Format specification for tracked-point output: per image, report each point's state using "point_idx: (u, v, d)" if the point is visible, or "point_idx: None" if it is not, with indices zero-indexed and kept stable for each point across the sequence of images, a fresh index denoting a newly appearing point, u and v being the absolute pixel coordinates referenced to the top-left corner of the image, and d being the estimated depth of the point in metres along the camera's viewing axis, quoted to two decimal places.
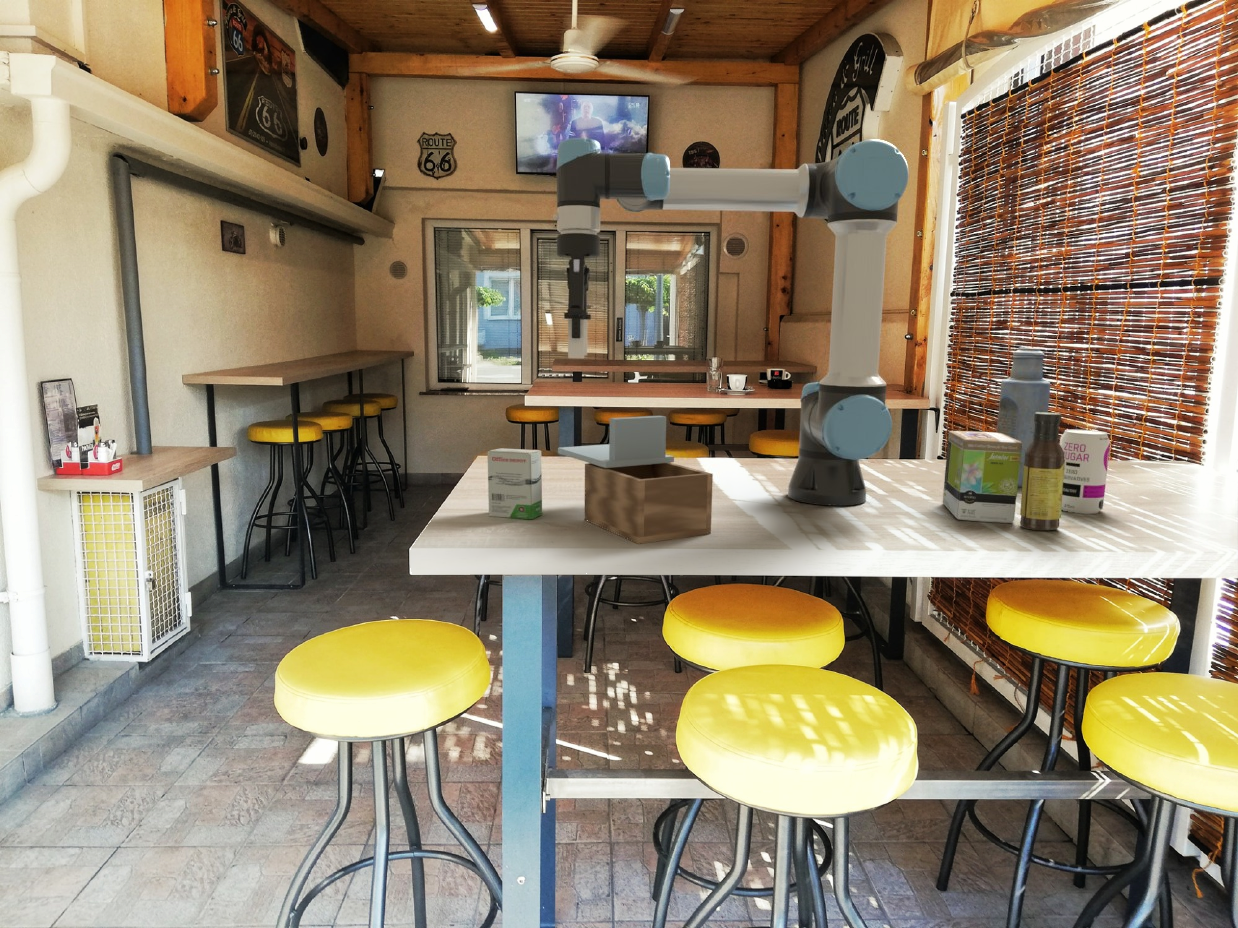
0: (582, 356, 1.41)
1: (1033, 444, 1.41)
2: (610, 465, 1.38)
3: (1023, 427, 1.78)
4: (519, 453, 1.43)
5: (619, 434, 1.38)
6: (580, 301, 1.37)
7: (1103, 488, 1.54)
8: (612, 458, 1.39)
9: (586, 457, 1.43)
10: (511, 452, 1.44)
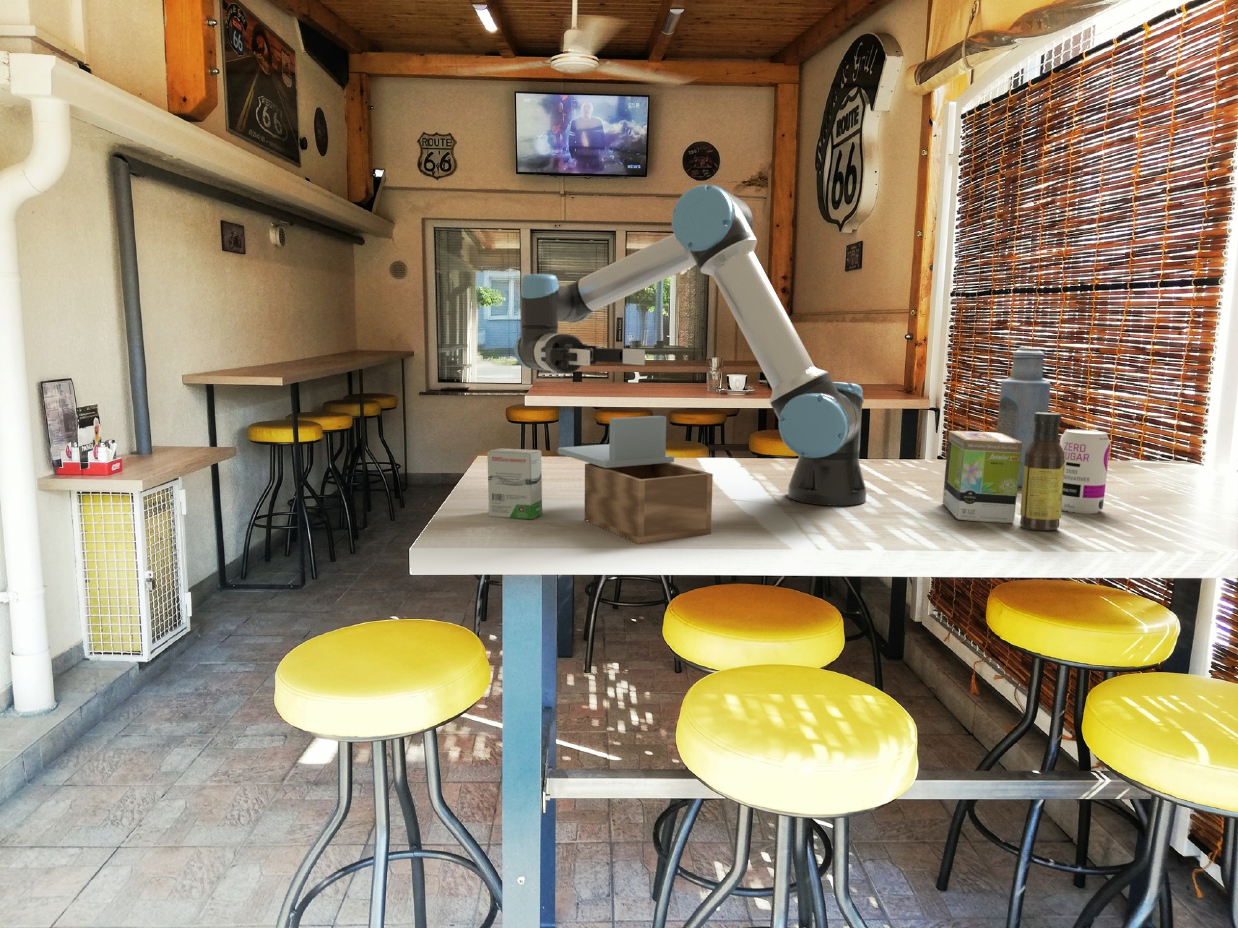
0: (585, 351, 1.42)
1: (1033, 444, 1.41)
2: (610, 465, 1.38)
3: (1023, 427, 1.78)
4: (519, 453, 1.43)
5: (619, 434, 1.38)
6: (549, 351, 1.49)
7: (1103, 488, 1.54)
8: (612, 458, 1.39)
9: (586, 457, 1.43)
10: (511, 452, 1.44)
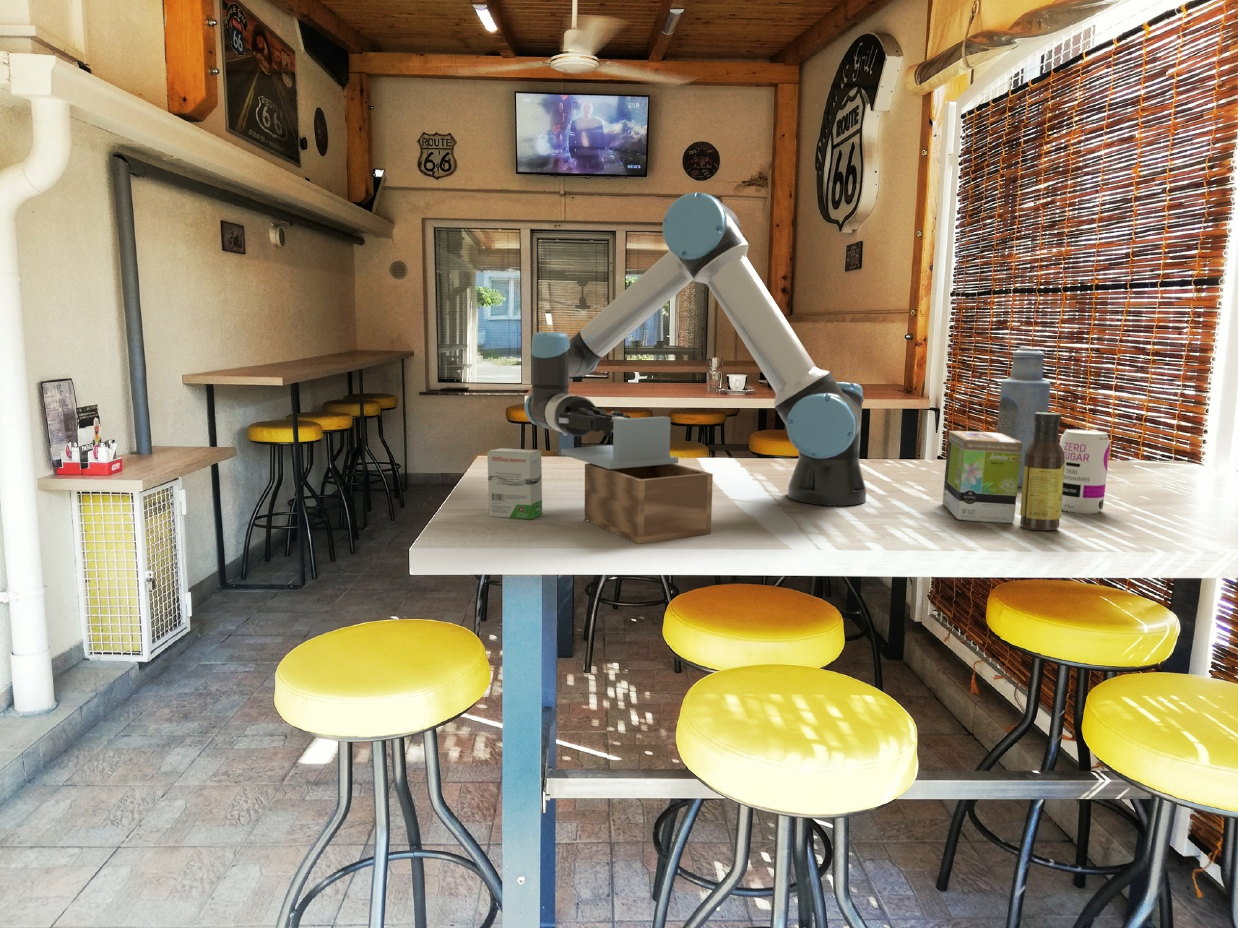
0: None
1: (1033, 444, 1.41)
2: (614, 466, 1.37)
3: (1023, 427, 1.78)
4: (519, 453, 1.43)
5: (623, 434, 1.37)
6: (588, 419, 1.46)
7: (1103, 488, 1.54)
8: (616, 459, 1.38)
9: (590, 458, 1.42)
10: (511, 452, 1.44)
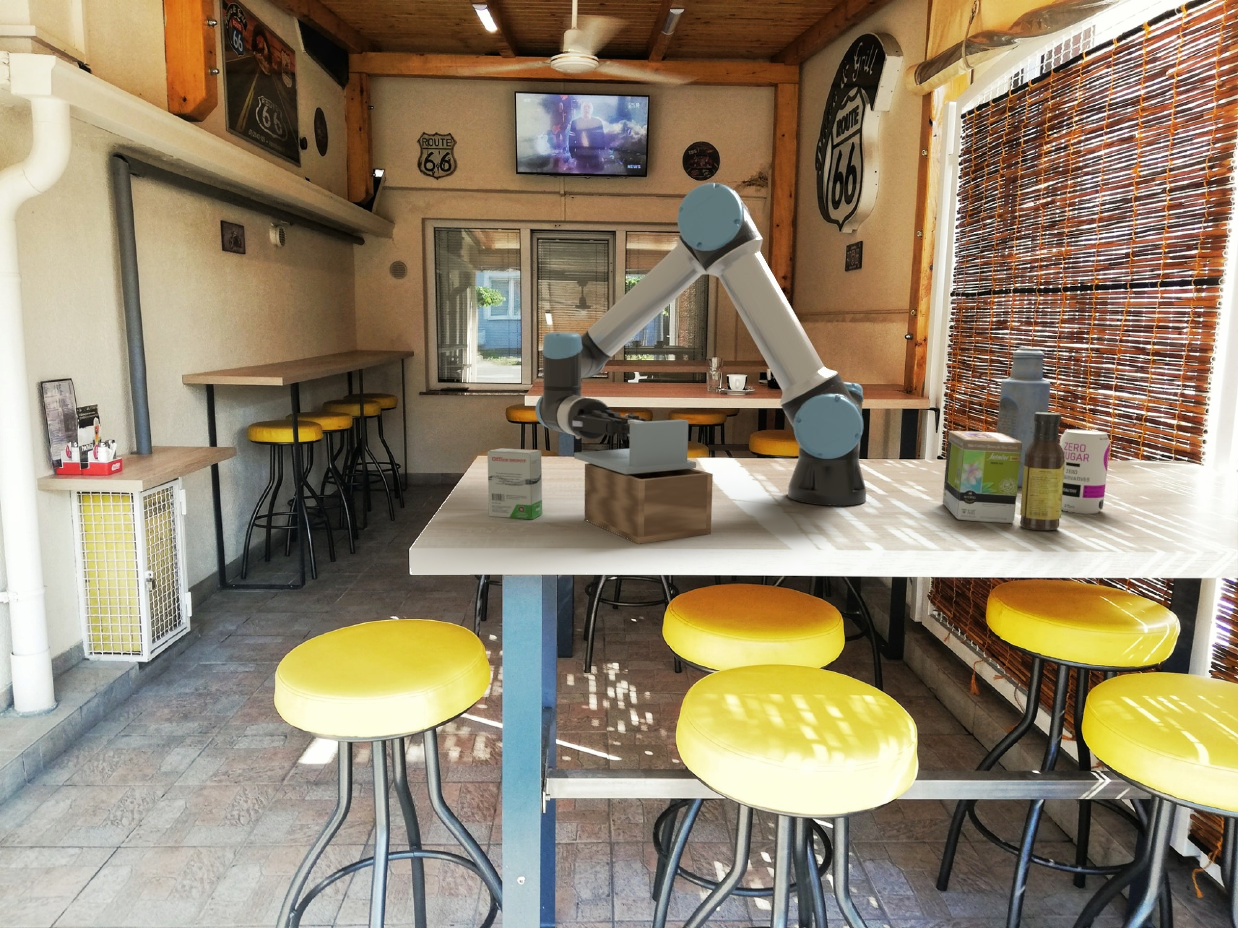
0: None
1: (1033, 444, 1.41)
2: (630, 471, 1.32)
3: (1023, 427, 1.78)
4: (519, 453, 1.43)
5: (640, 438, 1.32)
6: (603, 422, 1.41)
7: (1103, 488, 1.54)
8: (632, 464, 1.33)
9: (605, 463, 1.37)
10: (511, 452, 1.44)
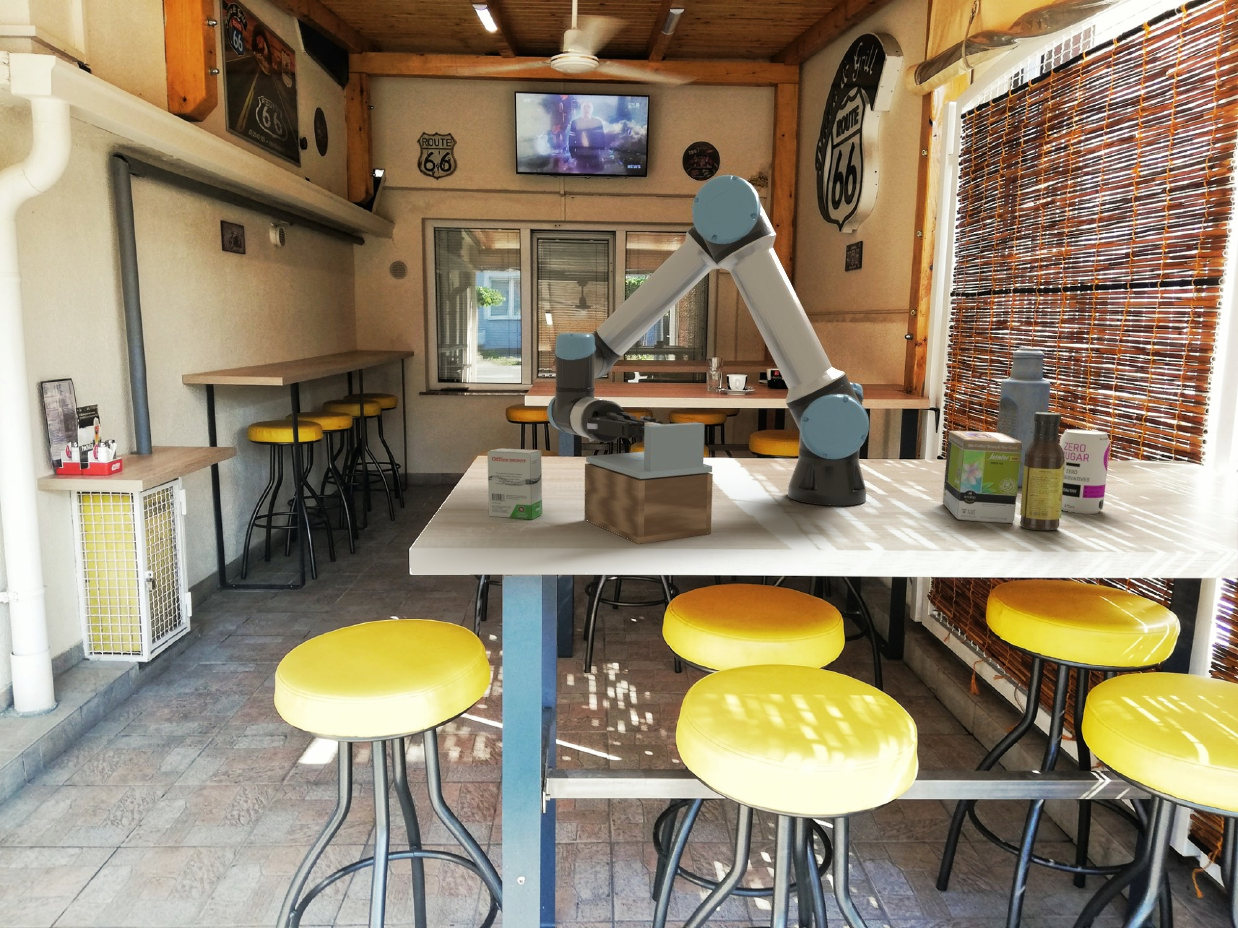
0: None
1: (1033, 444, 1.41)
2: (645, 476, 1.28)
3: (1023, 427, 1.78)
4: (519, 453, 1.43)
5: (655, 442, 1.28)
6: (619, 425, 1.38)
7: (1103, 488, 1.54)
8: (647, 468, 1.29)
9: (618, 467, 1.34)
10: (511, 452, 1.44)
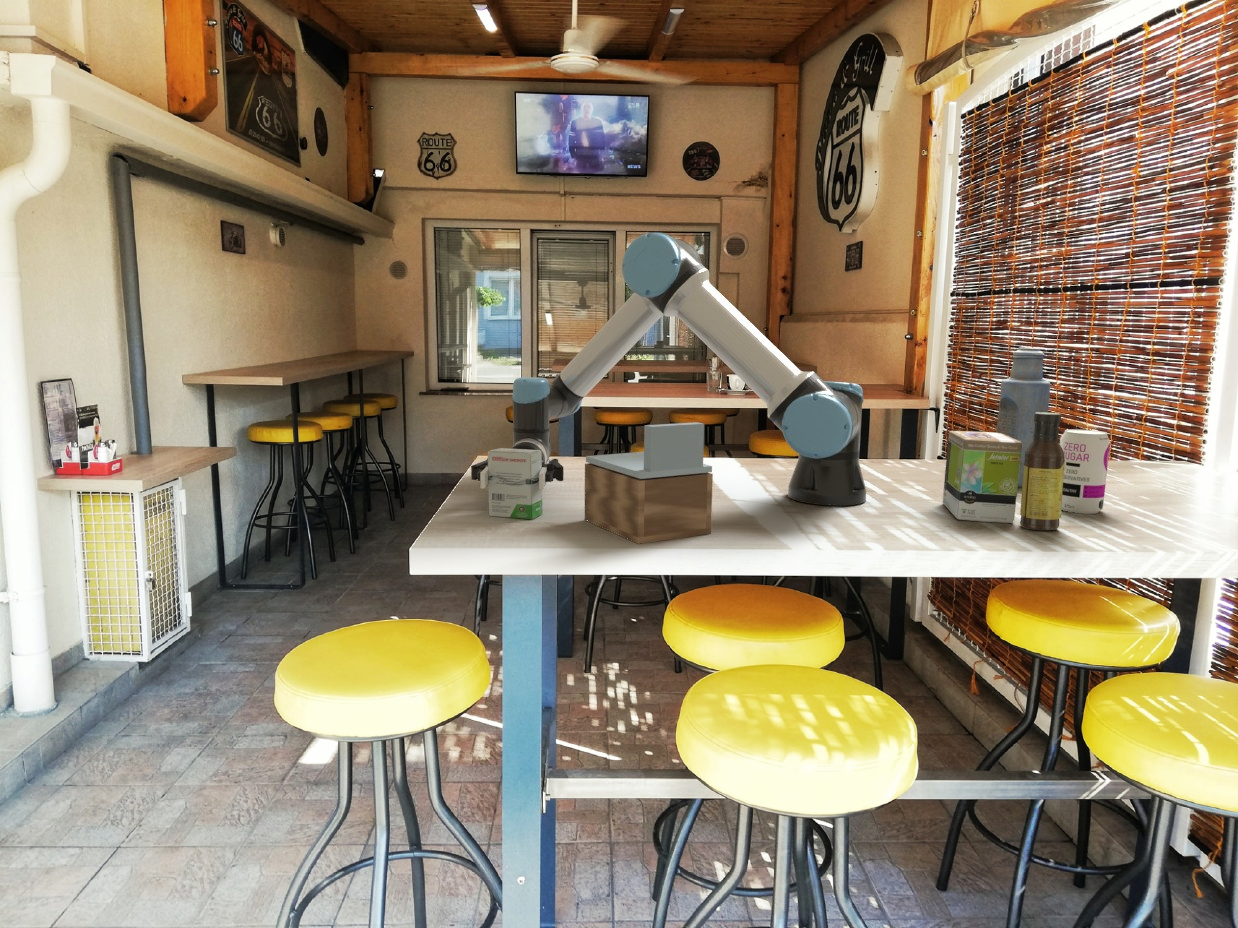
0: None
1: (1033, 444, 1.41)
2: (645, 476, 1.28)
3: (1023, 427, 1.78)
4: (519, 453, 1.43)
5: (655, 442, 1.28)
6: None
7: (1103, 488, 1.54)
8: (647, 468, 1.29)
9: (618, 467, 1.34)
10: (511, 452, 1.44)
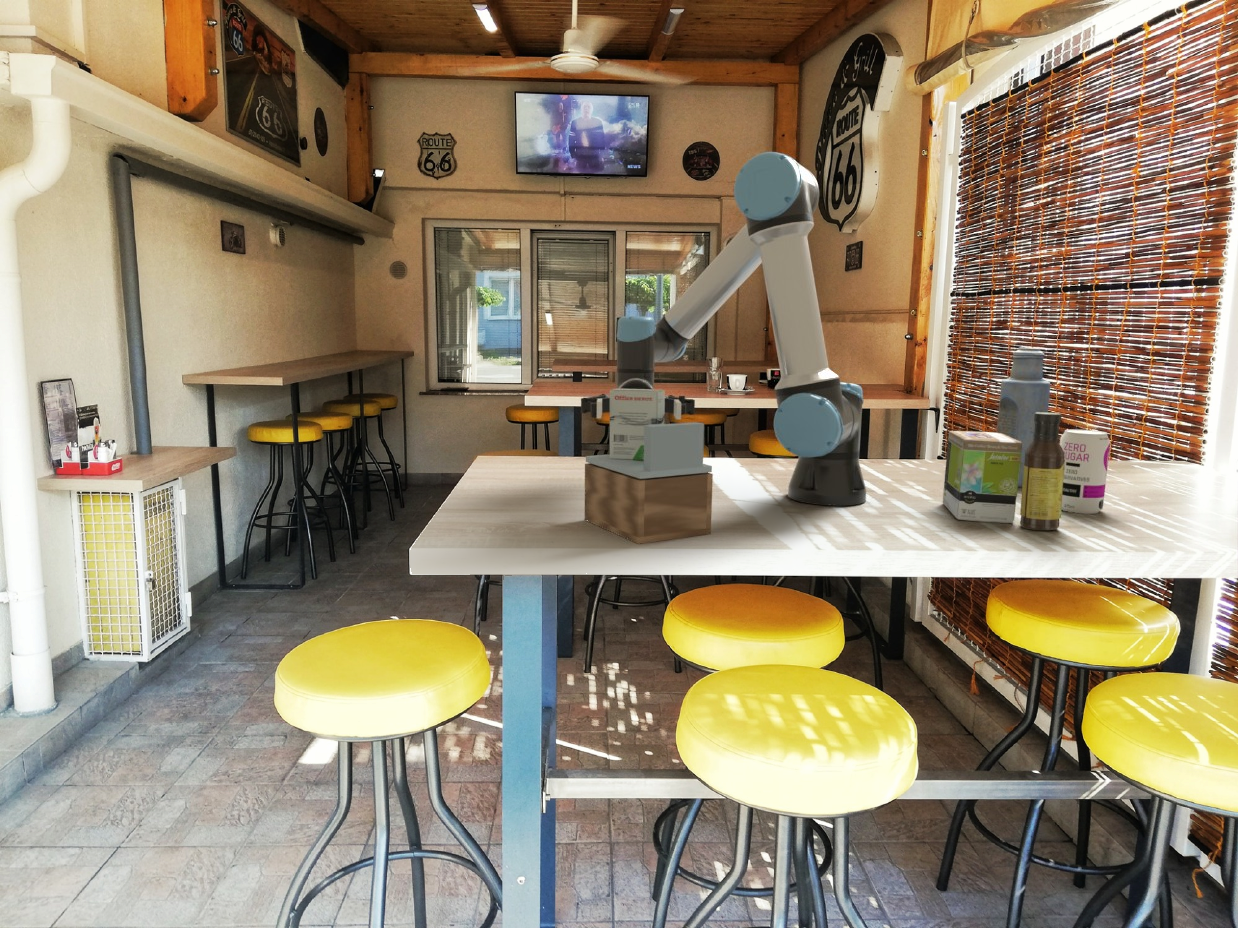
0: (596, 403, 1.37)
1: (1033, 444, 1.41)
2: (645, 476, 1.28)
3: (1023, 427, 1.78)
4: (645, 391, 1.37)
5: (655, 442, 1.28)
6: None
7: (1103, 488, 1.54)
8: (647, 468, 1.29)
9: (618, 467, 1.34)
10: (636, 390, 1.37)
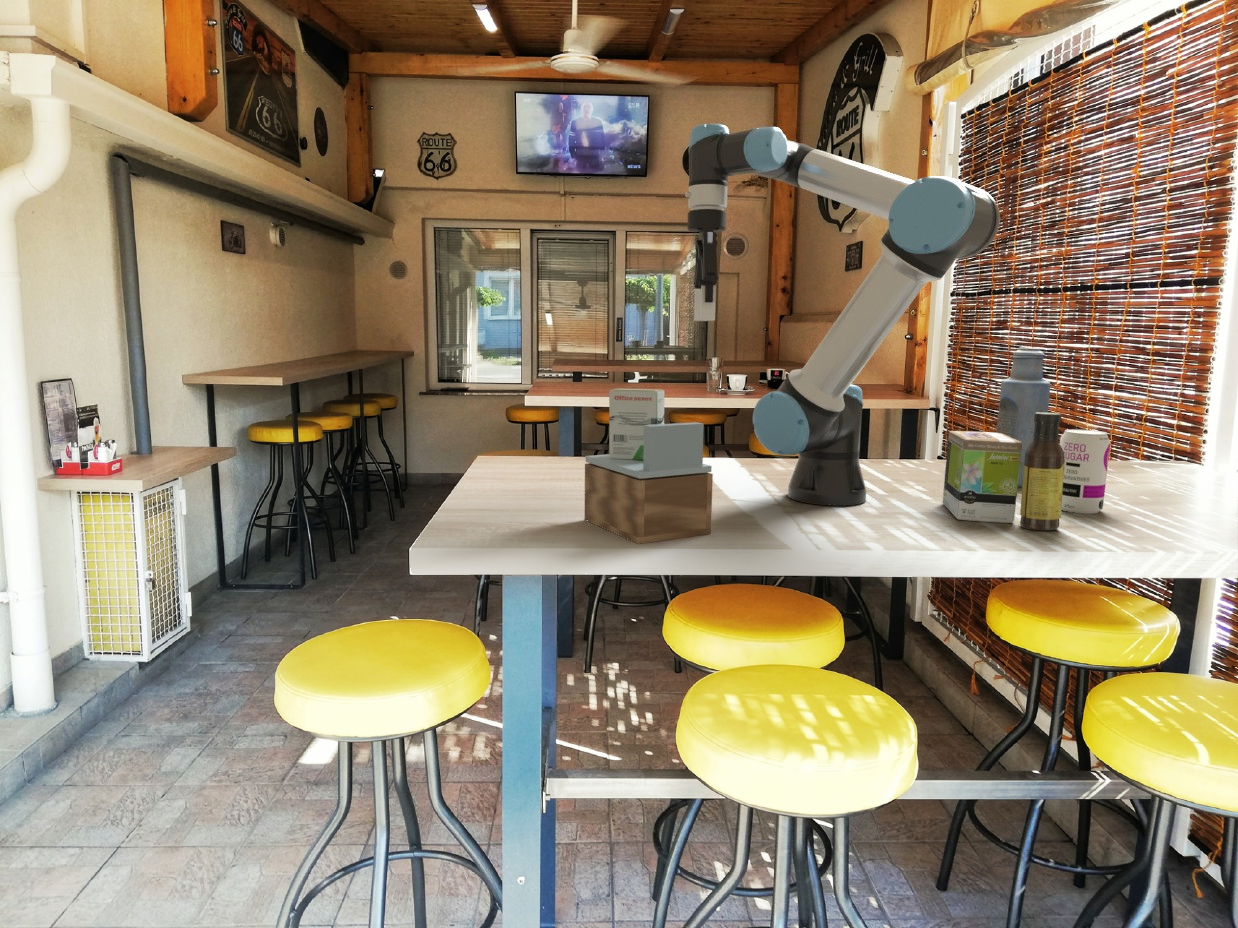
0: (713, 318, 1.58)
1: (1033, 444, 1.41)
2: (645, 476, 1.28)
3: (1023, 427, 1.78)
4: (645, 391, 1.37)
5: (654, 442, 1.28)
6: (715, 269, 1.54)
7: (1103, 488, 1.54)
8: (646, 468, 1.29)
9: (618, 467, 1.34)
10: (636, 390, 1.37)
